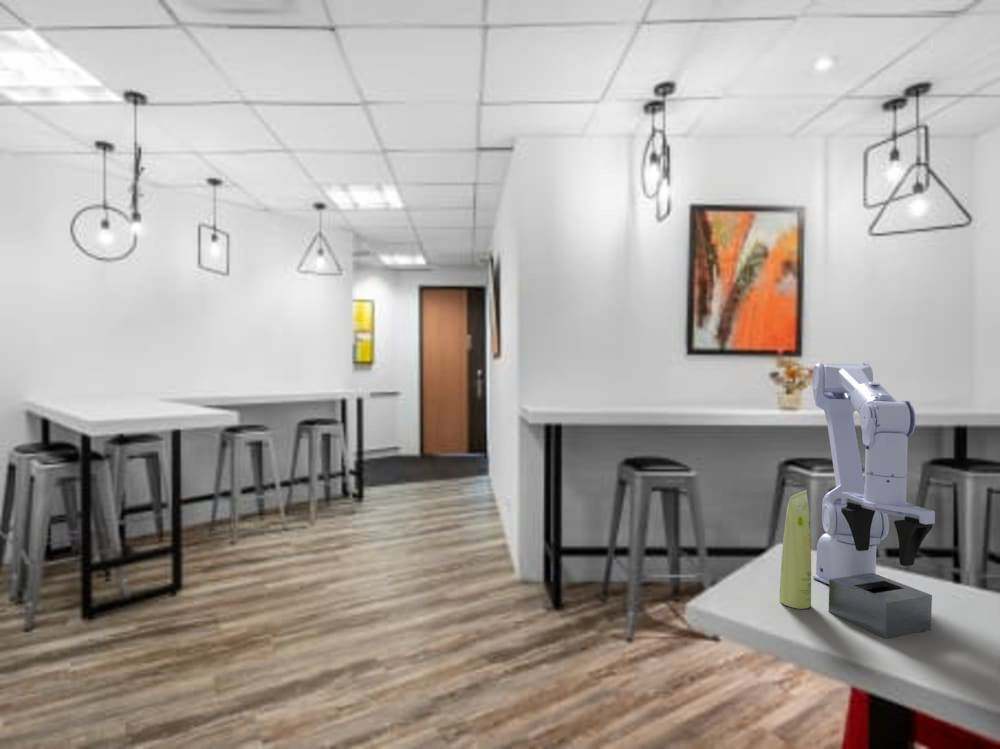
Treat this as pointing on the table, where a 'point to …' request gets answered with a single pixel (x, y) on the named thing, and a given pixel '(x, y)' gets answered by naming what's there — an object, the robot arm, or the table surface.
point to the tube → (796, 554)
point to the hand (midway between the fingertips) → (883, 557)
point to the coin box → (880, 604)
